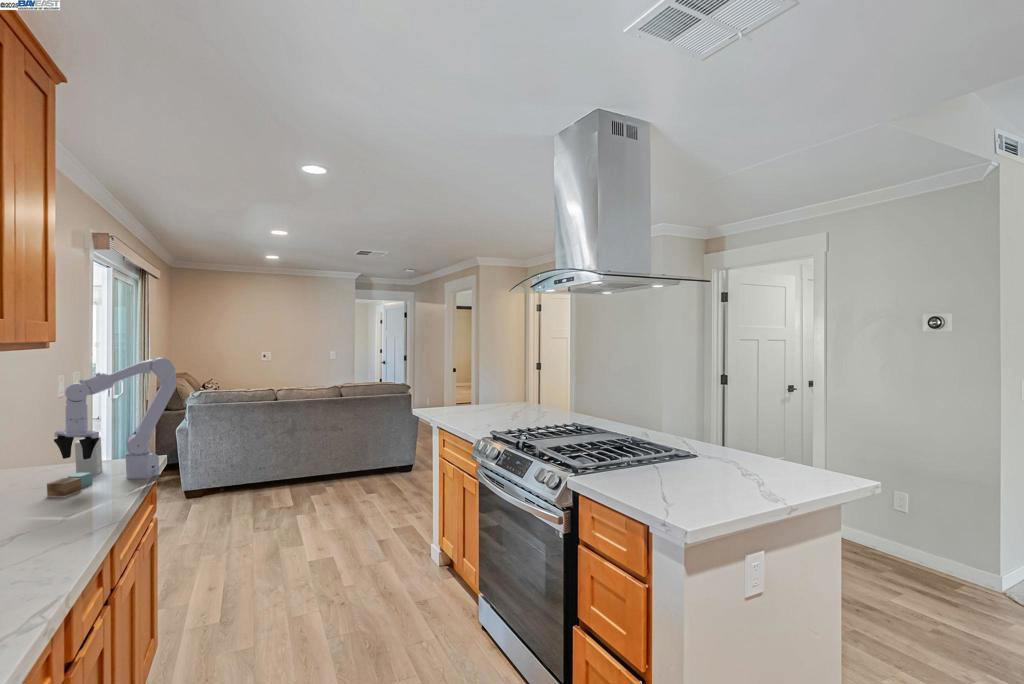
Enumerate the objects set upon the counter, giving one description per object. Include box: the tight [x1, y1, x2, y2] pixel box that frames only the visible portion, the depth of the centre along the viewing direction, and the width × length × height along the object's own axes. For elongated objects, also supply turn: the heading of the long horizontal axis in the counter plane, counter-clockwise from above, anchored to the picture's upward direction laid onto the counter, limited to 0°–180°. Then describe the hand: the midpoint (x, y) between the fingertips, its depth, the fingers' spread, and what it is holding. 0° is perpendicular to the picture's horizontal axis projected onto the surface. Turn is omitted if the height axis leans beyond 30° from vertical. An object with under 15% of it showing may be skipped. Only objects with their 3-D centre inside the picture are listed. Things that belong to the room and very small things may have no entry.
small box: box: [74, 436, 103, 476], centre depth 193 cm, size 8×6×13 cm
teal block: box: [67, 472, 93, 488], centre depth 177 cm, size 4×4×4 cm
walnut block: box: [46, 477, 83, 497], centre depth 169 cm, size 6×6×4 cm
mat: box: [44, 488, 85, 498], centre depth 169 cm, size 16×9×1 cm, turn 88°
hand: (76, 458), depth 177 cm, fingers open, 7 cm apart
